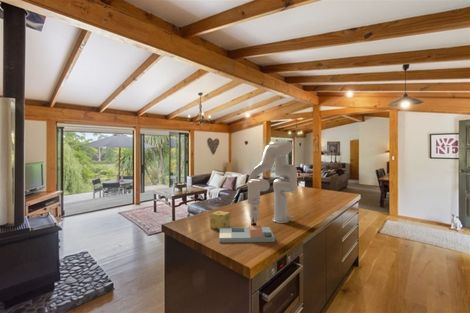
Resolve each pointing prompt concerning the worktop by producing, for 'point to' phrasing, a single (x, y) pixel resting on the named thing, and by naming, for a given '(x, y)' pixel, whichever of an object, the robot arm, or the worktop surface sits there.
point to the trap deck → (244, 235)
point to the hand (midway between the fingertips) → (253, 230)
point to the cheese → (220, 220)
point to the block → (255, 231)
